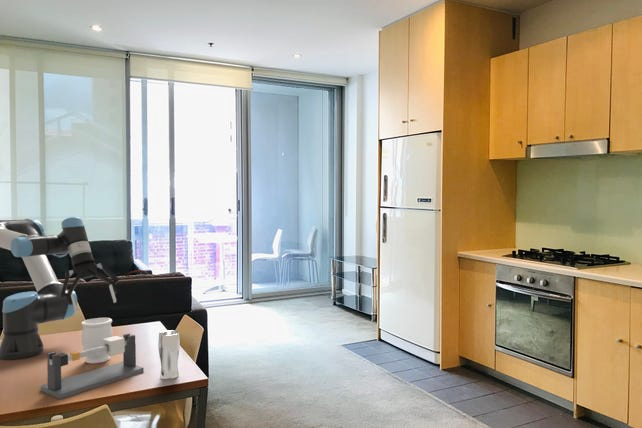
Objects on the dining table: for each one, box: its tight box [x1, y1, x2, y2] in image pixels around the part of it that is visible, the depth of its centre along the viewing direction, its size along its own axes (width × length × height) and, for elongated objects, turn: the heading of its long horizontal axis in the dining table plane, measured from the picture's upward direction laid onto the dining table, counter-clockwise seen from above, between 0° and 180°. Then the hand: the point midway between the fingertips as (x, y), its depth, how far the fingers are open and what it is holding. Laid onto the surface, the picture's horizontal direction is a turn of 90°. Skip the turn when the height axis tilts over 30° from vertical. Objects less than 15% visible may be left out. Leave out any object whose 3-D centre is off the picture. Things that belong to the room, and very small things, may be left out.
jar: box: [81, 317, 113, 365], centre depth 185 cm, size 11×10×15 cm
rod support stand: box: [39, 333, 145, 400], centre depth 164 cm, size 12×29×12 cm, turn 144°
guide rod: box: [49, 339, 128, 367], centre depth 164 cm, size 3×28×3 cm, turn 144°
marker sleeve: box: [103, 335, 125, 357], centre depth 170 cm, size 5×5×5 cm
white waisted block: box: [157, 329, 181, 380], centre depth 168 cm, size 7×7×15 cm
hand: (96, 306), depth 184 cm, fingers open, 13 cm apart
